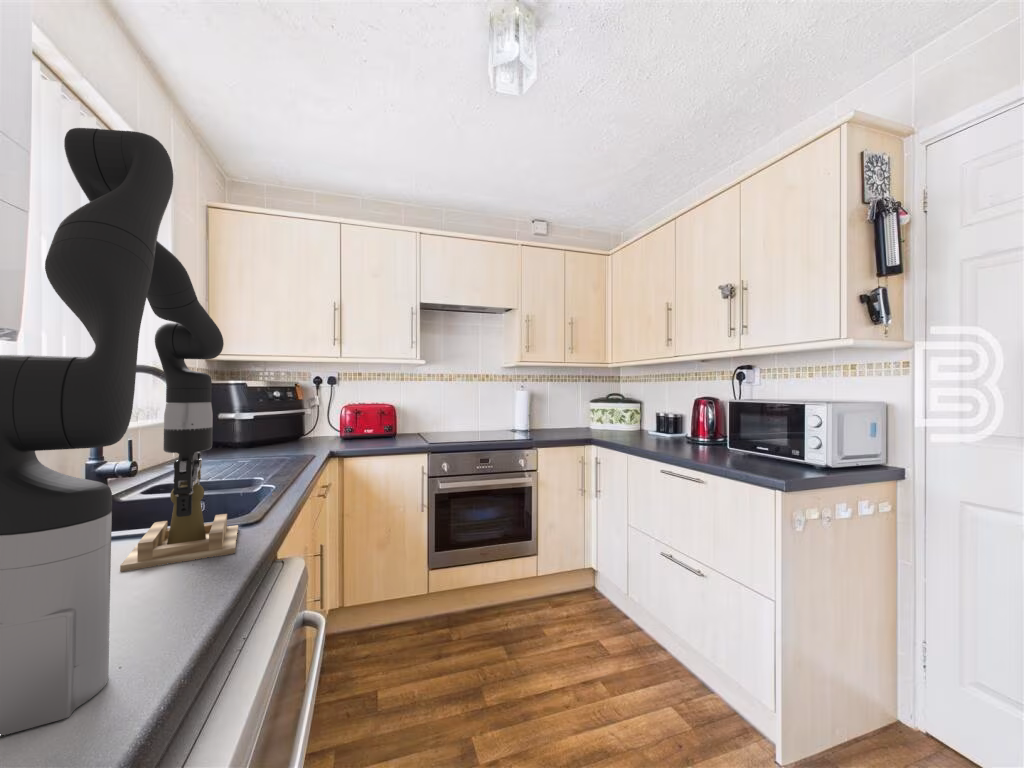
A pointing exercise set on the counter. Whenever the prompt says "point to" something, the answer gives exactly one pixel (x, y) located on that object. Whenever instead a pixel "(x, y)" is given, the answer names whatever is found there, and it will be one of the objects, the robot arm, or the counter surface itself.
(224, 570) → the counter surface
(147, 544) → the cradle
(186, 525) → the olive pepper mill
